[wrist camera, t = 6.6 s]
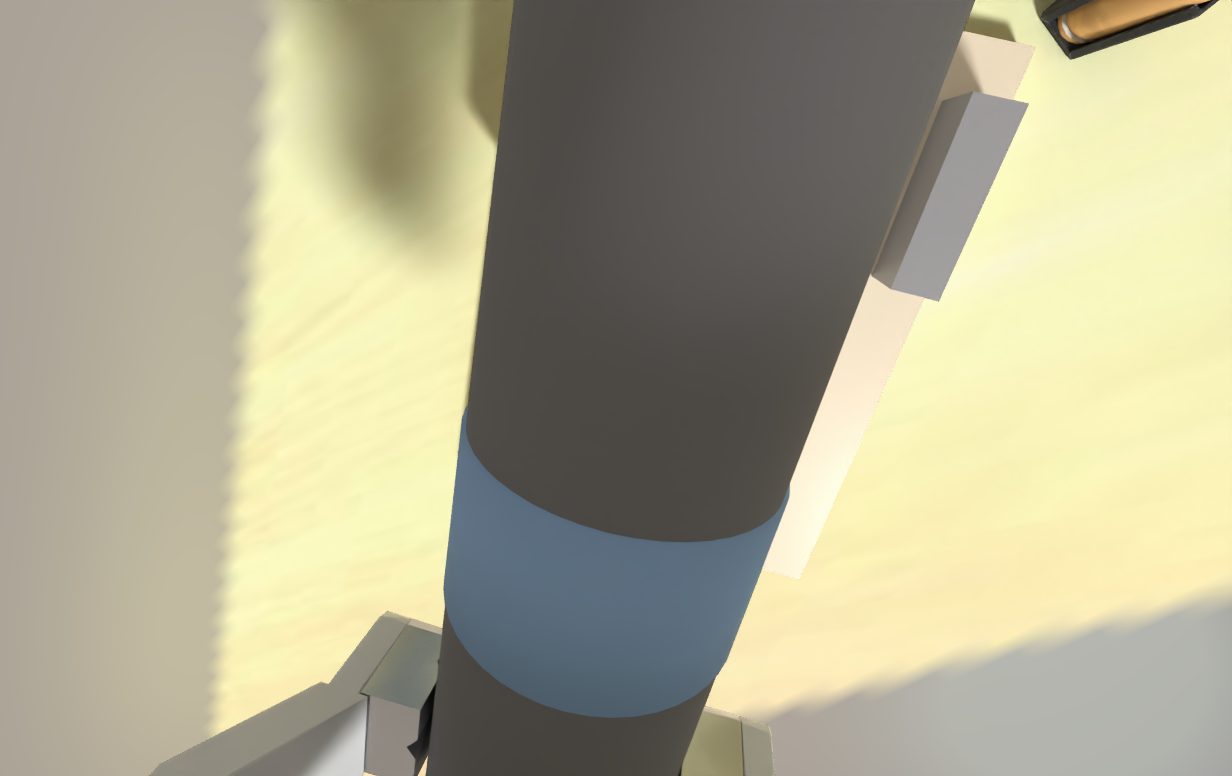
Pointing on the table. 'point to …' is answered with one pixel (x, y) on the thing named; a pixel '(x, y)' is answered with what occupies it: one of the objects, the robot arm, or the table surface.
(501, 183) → the gray banded cylinder
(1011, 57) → the beige base board
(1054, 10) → the ammunition clip
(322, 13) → the table surface
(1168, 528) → the table surface
